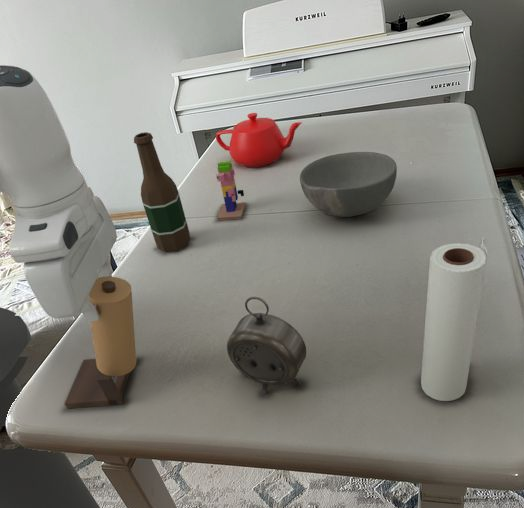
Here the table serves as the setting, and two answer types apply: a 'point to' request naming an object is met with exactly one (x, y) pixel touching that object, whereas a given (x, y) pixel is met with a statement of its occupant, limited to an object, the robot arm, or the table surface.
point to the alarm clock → (266, 349)
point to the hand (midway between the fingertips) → (101, 302)
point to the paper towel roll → (451, 318)
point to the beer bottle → (161, 199)
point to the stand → (95, 388)
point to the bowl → (349, 182)
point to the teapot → (257, 141)
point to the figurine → (229, 193)
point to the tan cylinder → (113, 327)
